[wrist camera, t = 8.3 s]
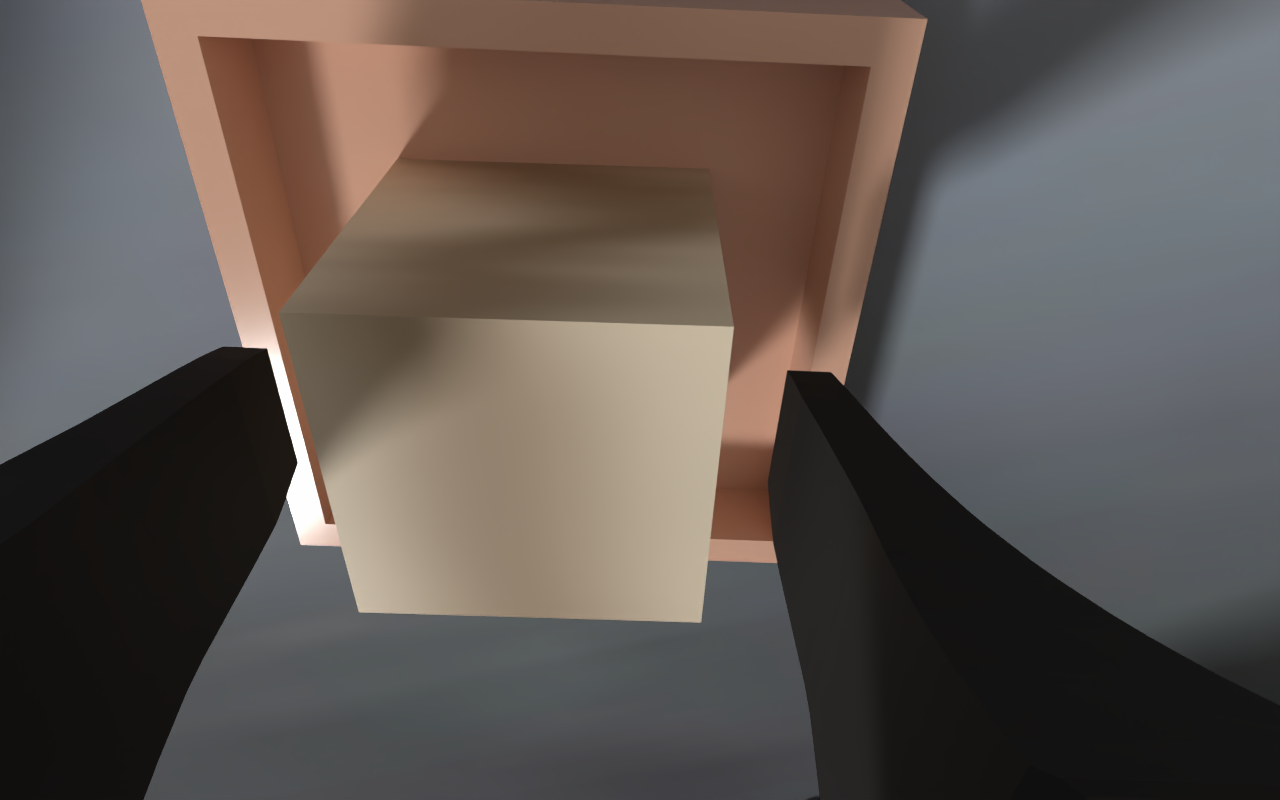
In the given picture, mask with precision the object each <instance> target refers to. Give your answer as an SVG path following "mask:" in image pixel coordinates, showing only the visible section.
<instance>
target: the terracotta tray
mask: <svg viewBox="0 0 1280 800" xmlns="http://www.w3.org/2000/svg"><path fill="white" fill-rule="evenodd" d="M141 2H142V5H143V9H144V12H145V15H146V19H147V22H148V26H149V29H150V32H151V36H152V39H153V43H154V46H155V49H156V53H157V56H158V60H159V63H160V67H161V70H162V73H163V77H164V80H165V84H166V87H167V90H168V94H169V97H170V101H171V104H172V107H173V111H174V114H175V118H176V121H177V124H178V128H179V131H180V135H181V138H182V141H183V145H184V148H185V152H186V155H187V158H188V162H189V165H190V169H191V172H192V175H193V179H194V182H195V186H196V189H197V193H198V196H199V199H200V203H201V206H202V210H203V213H204V216H205V220H206V223H207V227H208V230H209V233H210V237H211V240H212V244H213V247H214V250H215V254H216V257H217V261H218V264H219V267H220V271H221V274H222V278H223V281H224V284H225V288H226V291H227V295H228V298H229V301H230V305H231V308H232V312H233V315H234V319H235V322H236V325H237V329H238V332H239V336H240V339H241V342H242V346H243V347H244V348H267V350H268V354H269V357H270V361H271V365H272V368H273V372H274V376H275V379H276V383H277V387H278V391H279V394H280V398H281V402H282V405H283V409H284V413H285V416H286V420H287V424H288V427H289V431H290V435H291V438H292V442H293V446H294V449H295V453H296V457H297V460H298V465H297V468H296V471H295V474H294V477H293V479H292V482H291V485H290V488H289V491H288V494H287V499H288V502H289V506H290V509H291V513H292V516H293V519H294V523H295V526H296V530H297V533H298V536H299V540H300V543H301V545H321V546H341V543H340V540H339V536H338V532H337V528H336V525H335V521H334V517H333V514H332V510H331V506H330V502H329V499H328V495H327V491H326V487H325V484H324V480H323V476H322V473H321V469H320V465H319V461H318V458H317V454H316V450H315V447H314V443H313V439H312V435H311V432H310V428H309V424H308V421H307V417H306V413H305V409H304V406H303V402H302V398H301V394H300V391H299V387H298V383H297V380H296V376H295V372H294V368H293V365H292V361H291V357H290V354H289V350H288V346H287V342H286V339H285V335H284V331H283V327H282V324H281V320H280V316H279V313H278V312H279V311H280V310H281V308H282V307H283V306H284V305H285V303H286V302H287V301H288V299H289V298H290V297H291V295H292V294H293V293H294V292H295V290H296V289H297V288H298V286H299V285H300V284H301V283H302V281H303V280H304V279H305V277H306V276H307V275H308V274H309V272H310V271H311V270H312V268H313V267H314V266H315V265H316V263H317V262H318V261H319V259H320V258H321V257H322V255H323V254H324V253H325V252H326V250H327V249H328V248H329V246H330V245H331V244H332V243H333V241H334V240H335V239H336V237H337V236H338V235H339V234H340V232H341V231H342V230H343V228H344V227H345V226H346V224H347V223H348V222H349V221H350V219H351V218H352V217H353V215H354V214H355V213H356V212H357V210H358V209H359V208H360V206H361V205H362V204H363V203H364V201H365V200H366V199H367V197H368V196H369V195H370V193H371V192H372V191H373V190H374V188H375V187H376V186H377V184H378V183H379V182H380V181H381V179H382V178H383V177H384V175H385V174H386V173H387V172H388V170H389V169H390V168H391V166H392V165H393V164H394V162H395V161H396V160H397V159H423V160H454V161H484V162H515V163H546V164H576V165H607V166H637V167H668V168H699V169H709V174H710V180H711V186H712V193H713V199H714V205H715V211H716V218H717V224H718V230H719V236H720V243H721V249H722V255H723V261H724V268H725V274H726V280H727V287H728V293H729V299H730V305H731V312H732V318H733V324H734V331H733V339H732V348H731V357H730V366H729V375H728V384H727V393H726V402H725V411H724V420H723V429H722V438H721V447H720V456H719V465H718V474H717V483H716V492H715V501H714V510H713V519H712V528H711V537H710V546H709V555H708V560H712V561H738V562H764V563H777V559H776V554H775V550H774V545H773V536H772V526H771V517H770V505H769V492H768V477H769V471H770V466H771V460H772V454H773V448H774V443H775V437H776V431H777V426H778V420H779V414H780V409H781V403H782V397H783V391H784V386H785V380H786V374H787V370H793V371H817V372H831V373H832V374H833V375H834V376H835V377H836V378H837V379H838V380H839V381H840V382H841V383H842V384H843V385H844V383H845V379H846V374H847V370H848V365H849V361H850V357H851V352H852V348H853V344H854V339H855V335H856V331H857V326H858V322H859V317H860V313H861V309H862V304H863V300H864V296H865V291H866V287H867V282H868V278H869V274H870V269H871V265H872V261H873V256H874V252H875V247H876V243H877V239H878V234H879V230H880V226H881V221H882V217H883V213H884V208H885V204H886V199H887V195H888V191H889V186H890V182H891V178H892V173H893V169H894V164H895V160H896V156H897V151H898V147H899V143H900V138H901V134H902V129H903V125H904V121H905V116H906V112H907V108H908V103H909V99H910V95H911V90H912V86H913V81H914V77H915V73H916V68H917V64H918V60H919V55H920V51H921V46H922V42H923V38H924V33H925V29H926V25H927V20H928V19H927V18H925V17H924V16H923V15H921V14H920V13H918V12H917V11H915V10H914V9H913V8H911V7H910V6H908V5H907V4H906V3H904V2H903V1H901V0H141Z"/></svg>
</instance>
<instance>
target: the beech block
mask: <svg viewBox="0 0 1280 800" xmlns="http://www.w3.org/2000/svg"><path fill="white" fill-rule="evenodd" d="M278 313H279V316H280V320H281V324H282V327H283V331H284V335H285V339H286V342H287V346H288V350H289V354H290V357H291V361H292V365H293V368H294V372H295V376H296V380H297V383H298V387H299V391H300V394H301V398H302V402H303V406H304V409H305V413H306V417H307V421H308V424H309V428H310V432H311V435H312V439H313V443H314V447H315V450H316V454H317V458H318V461H319V465H320V469H321V473H322V476H323V480H324V484H325V487H326V491H327V495H328V499H329V502H330V506H331V510H332V514H333V517H334V521H335V525H336V528H337V532H338V536H339V540H340V543H341V547H342V551H343V554H344V558H345V562H346V566H347V569H348V573H349V577H350V581H351V584H352V588H353V592H354V595H355V599H356V603H357V607H358V610H359V612H369V613H402V614H436V615H469V616H502V617H536V618H569V619H602V620H636V621H669V622H701V617H702V608H703V600H704V591H705V582H706V573H707V564H708V555H709V546H710V537H711V528H712V519H713V510H714V501H715V492H716V483H717V474H718V465H719V456H720V447H721V438H722V429H723V420H724V411H725V402H726V393H727V384H728V375H729V366H730V357H731V348H732V339H733V331H734V324H733V318H732V312H731V305H730V299H729V293H728V287H727V280H726V274H725V268H724V261H723V255H722V249H721V243H720V236H719V230H718V224H717V218H716V211H715V205H714V199H713V193H712V186H711V180H710V174H709V169H699V168H668V167H637V166H607V165H576V164H546V163H515V162H484V161H454V160H423V159H397V160H396V161H395V162H394V164H393V165H392V166H391V168H390V169H389V170H388V172H387V173H386V174H385V175H384V177H383V178H382V179H381V181H380V182H379V183H378V184H377V186H376V187H375V188H374V190H373V191H372V192H371V193H370V195H369V196H368V197H367V199H366V200H365V201H364V203H363V204H362V205H361V206H360V208H359V209H358V210H357V212H356V213H355V214H354V215H353V217H352V218H351V219H350V221H349V222H348V223H347V224H346V226H345V227H344V228H343V230H342V231H341V232H340V234H339V235H338V236H337V237H336V239H335V240H334V241H333V243H332V244H331V245H330V246H329V248H328V249H327V250H326V252H325V253H324V254H323V255H322V257H321V258H320V259H319V261H318V262H317V263H316V265H315V266H314V267H313V268H312V270H311V271H310V272H309V274H308V275H307V276H306V277H305V279H304V280H303V281H302V283H301V284H300V285H299V286H298V288H297V289H296V290H295V292H294V293H293V294H292V295H291V297H290V298H289V299H288V301H287V302H286V303H285V305H284V306H283V307H282V308H281V310H280V311H279V312H278Z"/></svg>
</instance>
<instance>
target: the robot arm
mask: <svg viewBox="0 0 1280 800" xmlns="http://www.w3.org/2000/svg"><path fill="white" fill-rule="evenodd" d="M297 465H298V460H297V457H296V453H295V449H294V446H293V442H292V438H291V435H290V431H289V427H288V424H287V420H286V416H285V413H284V409H283V405H282V402H281V398H280V394H279V391H278V387H277V383H276V379H275V376H274V372H273V368H272V365H271V361H270V357H269V354H268V350H267V348H244V347H221V348H219V349H216V350H214V351H212V352H210V353H207V354H205V355H203V356H201V357H199V358H197V359H196V360H194V361H192V362H190V363H188V364H186V365H184V366H182V367H180V368H179V369H177V370H175V371H173V372H171V373H169V374H168V375H166V376H164V377H162V378H160V379H159V380H157V381H155V382H153V383H152V384H150V385H148V386H146V387H144V388H143V389H141V390H139V391H137V392H136V393H134V394H132V395H130V396H128V397H127V398H125V399H123V400H121V401H119V402H118V403H116V404H114V405H112V406H111V407H109V408H107V409H105V410H103V411H102V412H100V413H98V414H96V415H94V416H93V417H91V418H89V419H87V420H85V421H84V422H82V423H80V424H78V425H76V426H74V427H72V428H70V429H68V430H66V431H64V432H63V433H61V434H59V435H57V436H55V437H53V438H51V439H49V440H47V441H45V442H43V443H41V444H39V445H37V446H35V447H34V448H32V449H30V450H28V451H26V452H24V453H22V454H20V455H18V456H16V457H14V458H12V459H10V460H8V461H6V462H5V463H3V464H1V465H0V800H143V799H144V797H145V794H146V791H147V789H148V786H149V784H150V781H151V778H152V776H153V773H154V770H155V768H156V765H157V763H158V760H159V757H160V755H161V753H162V750H163V748H164V745H165V743H166V741H167V738H168V736H169V733H170V731H171V728H172V726H173V724H174V721H175V719H176V716H177V714H178V712H179V709H180V707H181V704H182V702H183V700H184V697H185V695H186V692H187V690H188V688H189V686H190V684H191V682H192V680H193V678H194V676H195V674H196V672H197V670H198V668H199V666H200V664H201V662H202V660H203V658H204V656H205V654H206V652H207V650H208V649H209V647H210V645H211V643H212V641H213V640H214V638H215V636H216V634H217V632H218V630H219V629H220V627H221V625H222V623H223V621H224V619H225V618H226V616H227V614H228V612H229V610H230V609H231V607H232V605H233V603H234V601H235V599H236V598H237V596H238V594H239V592H240V590H241V589H242V587H243V585H244V583H245V581H246V579H247V578H248V576H249V574H250V572H251V570H252V568H253V567H254V565H255V563H256V561H257V559H258V557H259V555H260V554H261V552H262V550H263V548H264V546H265V544H266V542H267V540H268V539H269V537H270V535H271V533H272V531H273V529H274V527H275V525H276V523H277V520H278V518H279V515H280V513H281V510H282V507H283V505H284V502H285V500H286V497H287V494H288V491H289V488H290V485H291V482H292V479H293V477H294V474H295V471H296V468H297ZM768 492H769V505H770V517H771V526H772V536H773V545H774V550H775V554H776V559H777V564H778V568H779V573H780V577H781V582H782V586H783V591H784V595H785V600H786V604H787V608H788V613H789V617H790V622H791V626H792V630H793V635H794V639H795V644H796V648H797V652H798V657H799V661H800V666H801V670H802V674H803V679H804V684H805V689H806V695H807V700H808V706H809V711H810V718H811V727H812V735H813V743H814V752H815V760H816V768H817V777H818V785H819V795H820V800H1280V705H1278V704H1276V703H1273V702H1271V701H1269V700H1267V699H1265V698H1263V697H1261V696H1259V695H1257V694H1255V693H1253V692H1251V691H1249V690H1247V689H1245V688H1243V687H1241V686H1239V685H1237V684H1235V683H1233V682H1231V681H1229V680H1226V679H1224V678H1223V677H1221V676H1219V675H1217V674H1215V673H1213V672H1211V671H1209V670H1207V669H1206V668H1204V667H1202V666H1200V665H1199V664H1197V663H1195V662H1193V661H1191V660H1190V659H1188V658H1186V657H1184V656H1182V655H1181V654H1179V653H1177V652H1175V651H1173V650H1172V649H1170V648H1168V647H1166V646H1164V645H1163V644H1161V643H1159V642H1157V641H1155V640H1154V639H1152V638H1150V637H1148V636H1147V635H1145V634H1143V633H1142V632H1140V631H1138V630H1137V629H1135V628H1133V627H1132V626H1130V625H1128V624H1127V623H1125V622H1123V621H1122V620H1120V619H1118V618H1117V617H1115V616H1113V615H1112V614H1110V613H1109V612H1107V611H1106V610H1104V609H1102V608H1101V607H1099V606H1098V605H1096V604H1095V603H1093V602H1092V601H1090V600H1089V599H1087V598H1086V597H1084V596H1083V595H1081V594H1080V593H1078V592H1076V591H1075V590H1073V589H1072V588H1070V587H1069V586H1067V585H1066V584H1064V583H1063V582H1061V581H1060V580H1058V579H1057V578H1055V577H1054V576H1053V575H1051V574H1050V573H1048V572H1047V571H1045V570H1044V569H1043V568H1041V567H1040V566H1038V565H1037V564H1035V563H1034V562H1033V561H1031V560H1030V559H1029V558H1027V557H1026V556H1025V555H1023V554H1022V553H1021V552H1020V551H1018V550H1017V549H1016V548H1014V547H1013V546H1012V545H1010V544H1009V543H1008V542H1007V541H1005V540H1004V539H1003V538H1001V537H1000V536H999V535H997V534H996V533H995V532H993V531H992V530H991V529H990V528H988V527H987V526H986V525H985V524H983V523H982V522H981V521H980V520H979V519H977V518H976V517H975V516H974V515H973V514H971V513H970V512H969V511H968V510H967V509H966V508H965V507H963V506H962V505H961V504H960V503H959V502H958V501H957V500H956V499H955V498H953V497H952V496H951V495H950V494H949V493H948V492H947V491H946V490H945V489H943V488H942V487H941V486H940V485H939V484H938V483H937V482H936V481H935V480H933V479H932V478H931V477H930V476H929V475H928V474H927V473H926V472H925V471H924V470H923V469H922V468H921V467H920V466H919V465H918V464H917V463H916V462H915V461H914V460H913V459H912V458H911V457H910V456H909V455H908V454H907V453H906V452H905V451H904V450H903V449H902V448H901V447H900V446H899V445H898V444H897V443H896V442H895V441H894V440H893V439H892V438H891V437H890V436H889V435H888V433H887V432H886V431H885V430H884V429H883V428H882V427H881V426H880V425H879V424H878V423H877V422H876V421H875V420H874V418H873V417H872V416H871V415H870V414H869V413H868V412H867V411H866V410H865V409H864V408H863V406H862V405H861V404H860V403H859V402H858V401H857V400H856V399H855V398H854V396H853V395H852V394H851V393H850V392H849V391H848V390H847V389H846V388H845V386H844V385H843V384H842V383H841V382H840V381H839V380H838V379H837V378H836V377H835V376H834V375H833V374H832V373H831V372H817V371H793V370H787V374H786V380H785V386H784V391H783V397H782V403H781V409H780V414H779V420H778V426H777V431H776V437H775V443H774V448H773V454H772V460H771V466H770V471H769V477H768Z"/></svg>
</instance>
